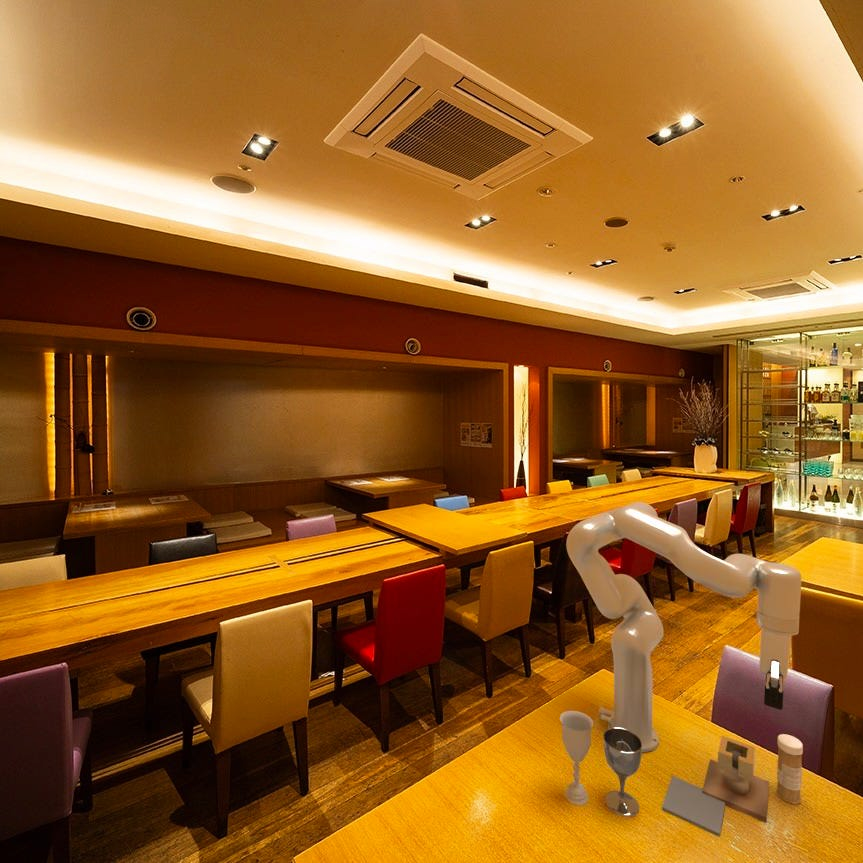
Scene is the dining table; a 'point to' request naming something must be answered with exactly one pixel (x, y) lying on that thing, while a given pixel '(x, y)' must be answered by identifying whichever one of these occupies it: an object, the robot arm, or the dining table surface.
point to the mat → (694, 805)
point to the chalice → (576, 750)
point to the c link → (744, 761)
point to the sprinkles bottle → (789, 768)
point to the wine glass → (622, 767)
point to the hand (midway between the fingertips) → (773, 695)
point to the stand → (737, 789)
